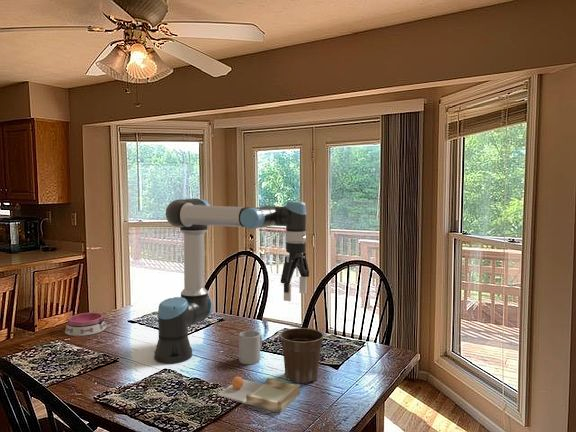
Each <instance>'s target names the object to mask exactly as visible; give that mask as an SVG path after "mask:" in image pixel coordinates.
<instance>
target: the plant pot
mask: <svg viewBox="0 0 576 432" xmlns="http://www.w3.org/2000/svg"><path fill="white" fill-rule="evenodd" d="M324 336H325V334H324V333H323V332H322V331H320V330H318V329H313V328H309V327H308V328H307V327H296V328H295V327H294V328H288V329H285V330H283V331H281V332H280V333H279V337H280V340H281V347H282V352H283V364H284V377H285V379H286V380H288V381H289V382H290V383H293V384H309V383H310V382H315V381H316V380H318V378H319V367H320V356H321V350H322V345H323V339H324Z"/></svg>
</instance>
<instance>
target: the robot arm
mask: <svg viewBox="0 0 576 432" xmlns="http://www.w3.org/2000/svg"><path fill="white" fill-rule="evenodd" d="M165 217H166V220H167V222H168V223H169V224H170V225H171V226H173V227H175V228H180V232H181V233H182V234H183V251H184V252H183V258H184V259H183V265H184V266H183V268H184V270H183V275H184V278H183V279H184V280H183V282H184V284H183V287H184V289H183V290H182V291H180V296H176V297H170V298H166V299H164V300H162V301H161V302H160V303H159V305H158V311H157V319H158V320H157V321H158V322H157V325H158V326H157V327H158V340H157V343H156V347H155V350H154V353H153V355H154V360H155V361H156V362H157V363H158V362H159V363H163V364H178V363H183V362H186V361H188V360H189V359H191V358H192V357H193V349H192V346H191V344H190V340H189V335H188V333H189V332H188V331H189V329H188V327H190V326H193V325H196V324H197V323H201V322H203V321H205V320H206V319H208V318H209V317H210V316H211V314H212V313H213V310H214V301H213V299H212V298H211V296H210V295H209V292H208V289H206V288H205V234H206V232H208V226H217V227H218V226H219V227H232V228H233V227H234V228H236V227H237V228H246V229H249V230H252V229H253V230H255V229H259V228H265V227H266V228H267V227H273V226H278V227H279V226H280V227H281V226H282V227H285V241H286V243H285V252H286V253H288V256H284V263H283V264H284V265H283V268H282V273H281V277H280V283H281V284H283V301H285V302H292V283H291V281H292V279H293V276H294V272H295V270H296V269H297V270H298V273H299V275H300V276H299V281H298V282H299V294H307V278H309V277H310V270H309V264H308V260H307V253H306V246H307V245H306V244H307V243H306V241H307V239H306V238H307V233H306V230H307V224H306V223H307V207H306V203H305V202H304V201H287V202H286V204H285V206H280V205H279V206H277V205H276V206H275V205H261V206H260V207H257V206H256V207H255V206H251V207H250V206H249V207H248V206H227V205H226V206H225V205H223V206H222V205H220V206H219V205H211V204H210V203H209V202H208V201H207V200H205V199H202V198H185V199H184V198H182V199H181V198H179V199H176V200H173V201H171V202H170V203H168V205H167V207H166V209H165Z"/></svg>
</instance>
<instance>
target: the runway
mask: <svg viewBox="0 0 576 432" xmlns="http://www.w3.org/2000/svg"><path fill="white" fill-rule="evenodd" d="M242 379H243V378H242ZM287 393H288V391H284V390H280V389H276V388H272V387H267V386H266V383H260V382H256V381H254V380H253V381H252V380H248V379H243V386H242V387H241V388H239V389H235V388H234V387H233V386H232V384H230V385H229V386H227V387H226V388H224V389H223V390H222V391H220V392H218V393H217V394H216V396H217V397H219V396H221V397H220V398H222V397H224V398H223V399H226V398H227V400H230V399H231V401H234V402H238V403H242V404H246V395H247V394H251V395H255V396H259V397H263V398H267V399H271V400H275V401H279V400H280V399H281V398H282V397H283V396H284V395H285V394H287ZM300 395H301V392H300V393H299V396H300ZM299 396H298V395H297V397H296V398H294V399H293V400H292V401H291V402H290V403H289V404H288V405H286V407H284V410H285V409H286V408H287V407H288V406H289V405H290V404H292V403H293V402H294V400H296V399H297V398H298V397H299ZM246 405H247V404H246ZM257 406H258V405H257ZM264 408H265V407H264ZM264 408H262V407H261V408H260V409H264ZM265 410H267V408H266V409H265ZM272 410H273V411H272V412H275V410H274V409H272ZM284 410H283V409H282V410H281V411H282V412H283V411H284ZM281 411H280V414H281V413H282V412H281ZM276 413H278V411H277V412H276Z"/></svg>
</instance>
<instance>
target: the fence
mask: <svg viewBox="0 0 576 432" xmlns="http://www.w3.org/2000/svg"><path fill="white" fill-rule="evenodd" d="M265 385H266V386H267V387H272V388H276V389H280V390H284V391H288V393H287V394H285V395H284V396H283V397H282V398H281V399H280V400H279V401H275V400H271V399H267V398H263V397H259V396H255V395H251V394H247V395H246V405H249V406H252V407H257V408H260V409H265V410H267V411H272V412H275V413H280V411H281V410H282V409H283V411H285V409H284V407H286V405H288V404H289V403H290V402H291V401H292V400H293V399H294V398H296V397H297V395H298V397H299V396H300V395H299V393H300V394H301V383H288V382H284V381H279V380H276V379H271V378H266V383H265ZM298 397H297V398H298ZM297 398H296V399H297ZM293 401H294V400H293ZM293 401H292V402H293ZM292 402H291V403H292ZM291 403H290V404H291ZM290 404H289V405H290ZM257 405H258V406H257ZM289 405H288V406H289ZM261 407H262V408H261ZM264 407H265V408H264ZM266 408H267V409H266ZM286 408H287V407H286ZM272 409H274V410H275V411H273V410H272ZM277 411H278V412H277ZM283 411H281V413H282V412H283ZM281 413H280V414H281Z"/></svg>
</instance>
